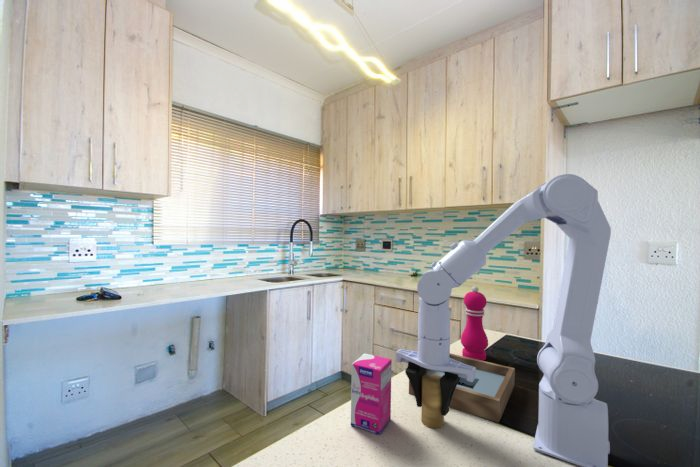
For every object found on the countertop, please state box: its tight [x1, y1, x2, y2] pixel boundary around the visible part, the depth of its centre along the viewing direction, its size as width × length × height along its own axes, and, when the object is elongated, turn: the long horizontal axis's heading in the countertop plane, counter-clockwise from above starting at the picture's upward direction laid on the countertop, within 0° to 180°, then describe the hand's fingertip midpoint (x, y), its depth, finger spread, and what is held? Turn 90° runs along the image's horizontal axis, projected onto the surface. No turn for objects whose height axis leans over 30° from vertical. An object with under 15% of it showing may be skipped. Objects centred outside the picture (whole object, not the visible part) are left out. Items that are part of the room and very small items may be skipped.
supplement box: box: [350, 353, 393, 435], centre depth 59 cm, size 6×6×12 cm
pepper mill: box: [460, 285, 489, 361], centre depth 91 cm, size 7×7×20 cm
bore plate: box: [426, 369, 505, 397], centre depth 72 cm, size 16×16×2 cm
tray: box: [408, 353, 516, 423], centre depth 72 cm, size 18×18×4 cm
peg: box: [420, 374, 445, 429], centre depth 60 cm, size 4×4×8 cm
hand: (432, 408), depth 60 cm, fingers open, 4 cm apart
